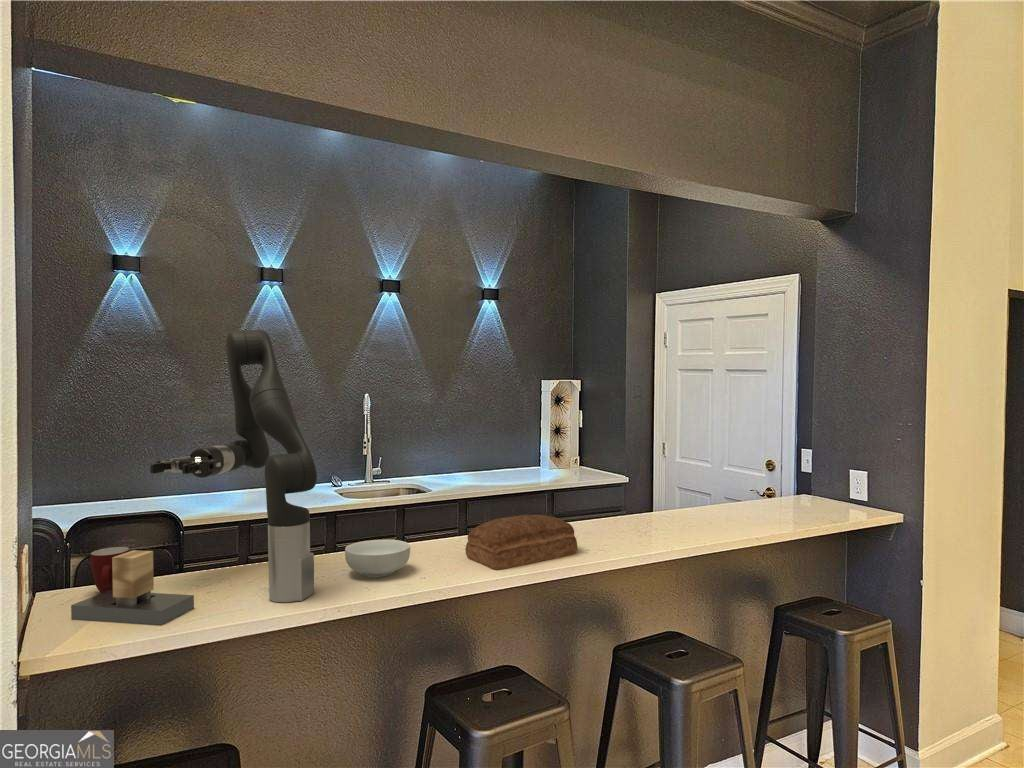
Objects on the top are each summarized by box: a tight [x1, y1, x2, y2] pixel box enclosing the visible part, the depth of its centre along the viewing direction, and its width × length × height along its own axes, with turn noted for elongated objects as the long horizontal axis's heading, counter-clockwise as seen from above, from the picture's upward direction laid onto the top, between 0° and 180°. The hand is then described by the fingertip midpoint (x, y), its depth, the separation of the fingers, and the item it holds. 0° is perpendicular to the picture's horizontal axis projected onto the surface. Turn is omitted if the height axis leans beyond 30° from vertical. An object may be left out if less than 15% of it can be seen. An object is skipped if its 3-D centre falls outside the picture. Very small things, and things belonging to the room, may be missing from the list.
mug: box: [89, 546, 131, 594], centre depth 157 cm, size 10×8×10 cm
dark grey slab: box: [70, 590, 195, 626], centre depth 143 cm, size 22×10×3 cm, turn 79°
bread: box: [465, 514, 578, 571], centre depth 186 cm, size 17×29×11 cm, turn 124°
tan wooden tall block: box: [112, 549, 155, 606], centre depth 143 cm, size 5×6×13 cm
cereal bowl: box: [344, 539, 411, 578], centre depth 172 cm, size 17×17×7 cm
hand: (167, 469), depth 154 cm, fingers open, 8 cm apart
